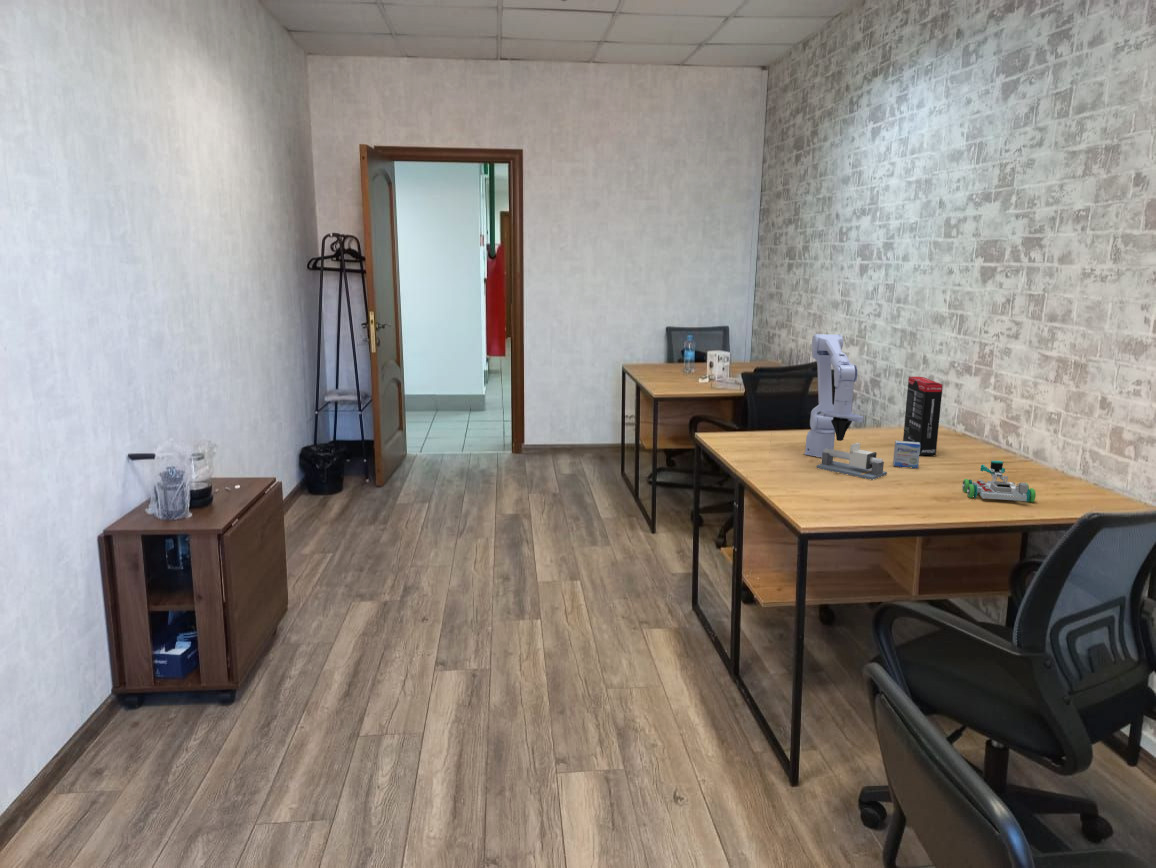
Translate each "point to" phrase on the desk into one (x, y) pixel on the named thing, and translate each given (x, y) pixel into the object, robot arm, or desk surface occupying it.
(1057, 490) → the desk surface
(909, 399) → the graphics card box
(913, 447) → the medicine box
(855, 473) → the pipe stand
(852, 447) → the sleeve
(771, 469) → the desk surface
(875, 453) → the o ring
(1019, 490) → the robot kit
